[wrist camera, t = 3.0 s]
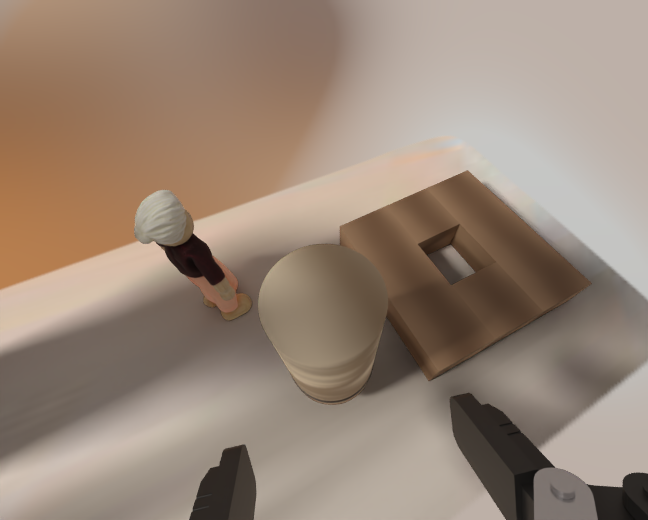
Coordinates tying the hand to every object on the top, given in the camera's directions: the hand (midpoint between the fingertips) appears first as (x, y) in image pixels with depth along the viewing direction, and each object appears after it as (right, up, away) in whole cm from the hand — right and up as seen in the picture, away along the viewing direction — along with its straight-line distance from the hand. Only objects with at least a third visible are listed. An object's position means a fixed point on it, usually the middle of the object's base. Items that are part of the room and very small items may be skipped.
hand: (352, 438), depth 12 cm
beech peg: (0, -2, +13) cm, 13 cm away
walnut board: (+10, +6, +17) cm, 20 cm away
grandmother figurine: (-10, +3, +17) cm, 20 cm away
